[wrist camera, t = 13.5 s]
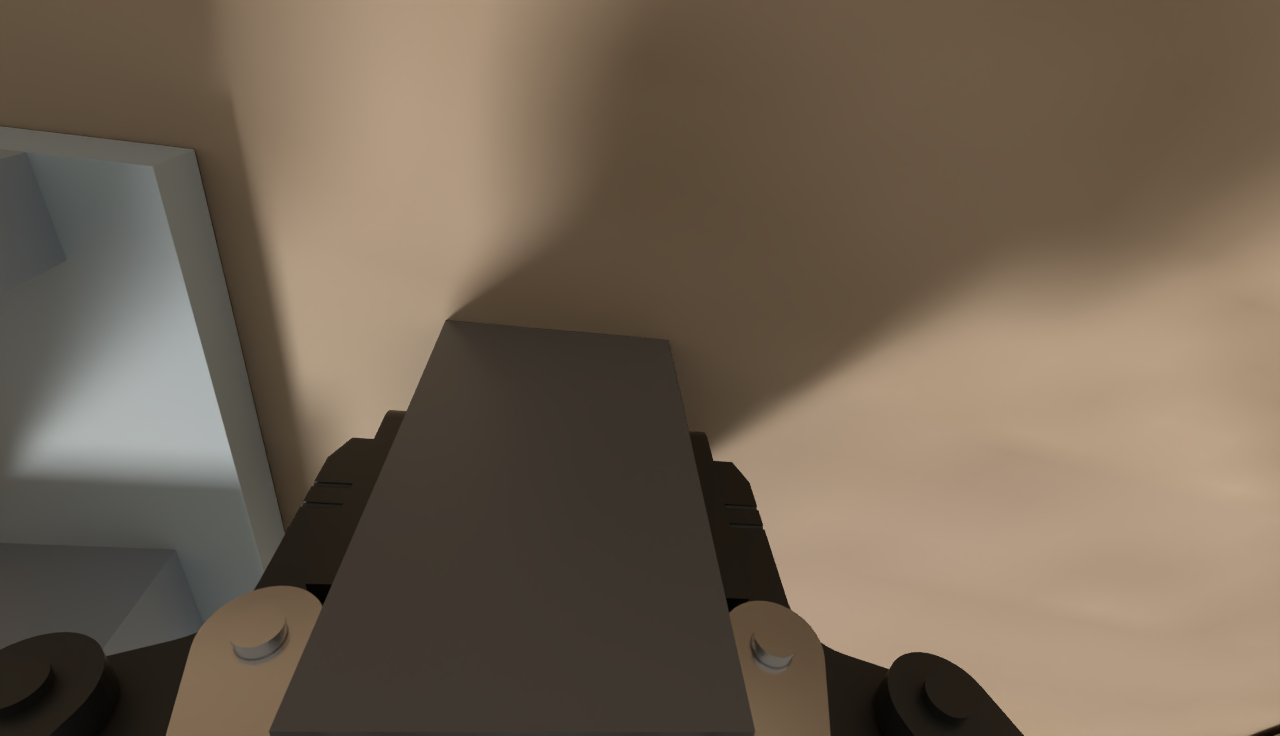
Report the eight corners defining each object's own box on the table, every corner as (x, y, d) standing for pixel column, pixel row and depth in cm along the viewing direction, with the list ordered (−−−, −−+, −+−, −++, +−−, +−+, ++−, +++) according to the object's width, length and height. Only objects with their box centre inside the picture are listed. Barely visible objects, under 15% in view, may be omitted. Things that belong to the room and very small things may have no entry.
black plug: (668, 339, 11) (754, 731, 5) (638, 497, 13) (677, 905, 7) (445, 320, 11) (269, 732, 5) (450, 487, 13) (332, 918, 7)
